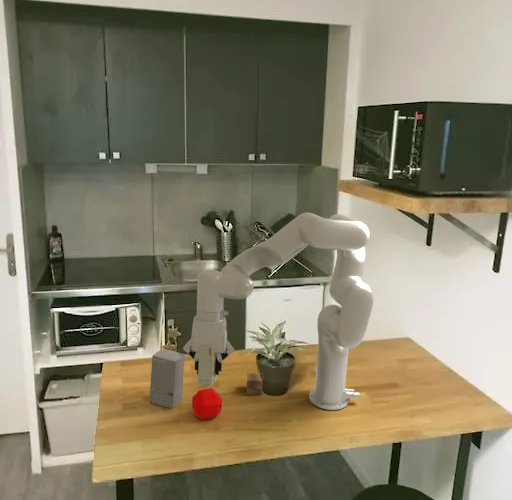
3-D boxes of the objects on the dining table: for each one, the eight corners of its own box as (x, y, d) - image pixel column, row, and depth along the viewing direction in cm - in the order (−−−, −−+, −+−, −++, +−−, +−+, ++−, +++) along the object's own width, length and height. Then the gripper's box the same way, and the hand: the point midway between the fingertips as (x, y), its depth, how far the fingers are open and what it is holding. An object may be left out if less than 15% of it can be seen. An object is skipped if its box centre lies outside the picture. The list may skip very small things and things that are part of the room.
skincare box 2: (211, 387, 150) (213, 347, 147) (197, 385, 151) (198, 345, 148) (217, 377, 156) (219, 339, 153) (203, 375, 157) (204, 337, 154)
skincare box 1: (149, 403, 161) (149, 356, 157) (160, 393, 168) (161, 347, 164) (173, 409, 158) (174, 361, 155) (184, 398, 165) (185, 352, 161)
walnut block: (261, 387, 174) (262, 373, 173) (261, 395, 170) (262, 381, 168) (246, 386, 174) (247, 373, 173) (246, 394, 170) (246, 380, 168)
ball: (223, 420, 154) (224, 396, 152) (197, 424, 151) (198, 400, 149) (215, 406, 161) (216, 383, 160) (190, 410, 158) (190, 387, 157)
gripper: (240, 310, 152) (237, 368, 157) (181, 307, 152) (180, 365, 157) (239, 320, 145) (236, 380, 149) (177, 317, 145) (176, 377, 149)
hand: (208, 372), depth 153 cm, fingers closed on skincare box 2, 5 cm apart
